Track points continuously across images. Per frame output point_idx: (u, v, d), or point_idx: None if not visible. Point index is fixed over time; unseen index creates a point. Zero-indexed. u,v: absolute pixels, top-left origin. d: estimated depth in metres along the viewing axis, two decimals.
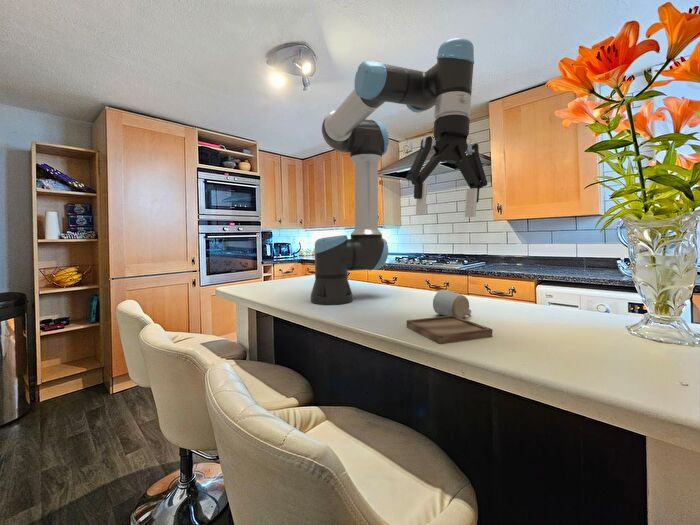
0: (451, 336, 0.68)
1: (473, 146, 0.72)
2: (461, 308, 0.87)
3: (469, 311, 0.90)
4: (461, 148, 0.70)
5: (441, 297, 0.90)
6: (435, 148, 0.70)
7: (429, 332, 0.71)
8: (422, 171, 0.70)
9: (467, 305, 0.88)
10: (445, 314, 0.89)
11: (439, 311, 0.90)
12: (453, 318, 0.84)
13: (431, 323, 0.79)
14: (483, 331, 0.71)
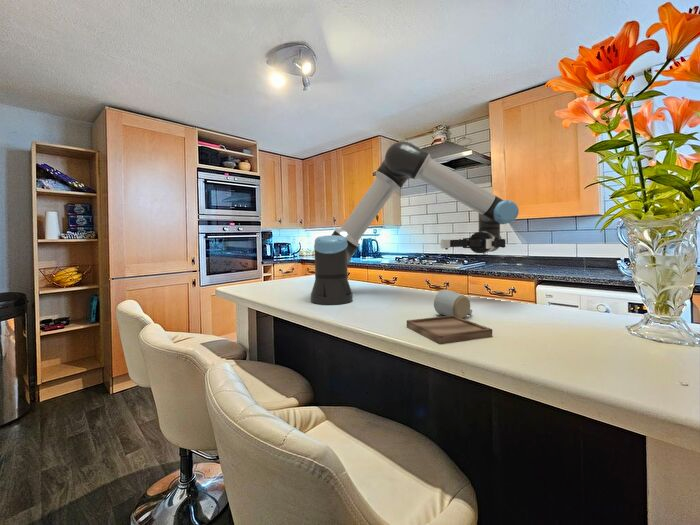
0: (451, 336, 0.68)
1: None
2: (462, 308, 0.87)
3: (470, 311, 0.90)
4: (472, 248, 1.10)
5: (442, 297, 0.90)
6: None
7: (429, 332, 0.71)
8: None
9: (468, 305, 0.88)
10: (446, 314, 0.89)
11: (440, 311, 0.90)
12: (453, 318, 0.84)
13: (431, 323, 0.79)
14: (483, 331, 0.71)
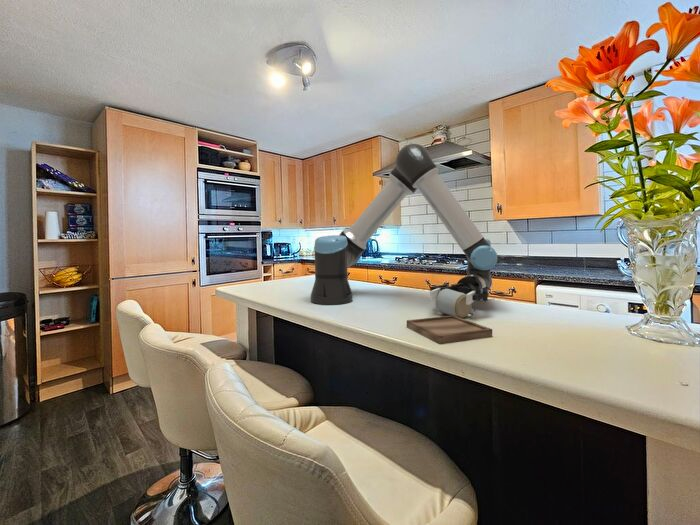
0: (451, 336, 0.68)
1: None
2: (464, 307, 0.88)
3: (472, 310, 0.91)
4: None
5: (444, 296, 0.91)
6: (477, 289, 0.98)
7: (429, 332, 0.71)
8: None
9: (470, 304, 0.89)
10: (448, 313, 0.90)
11: (442, 310, 0.91)
12: (453, 318, 0.84)
13: (431, 323, 0.79)
14: (483, 331, 0.71)
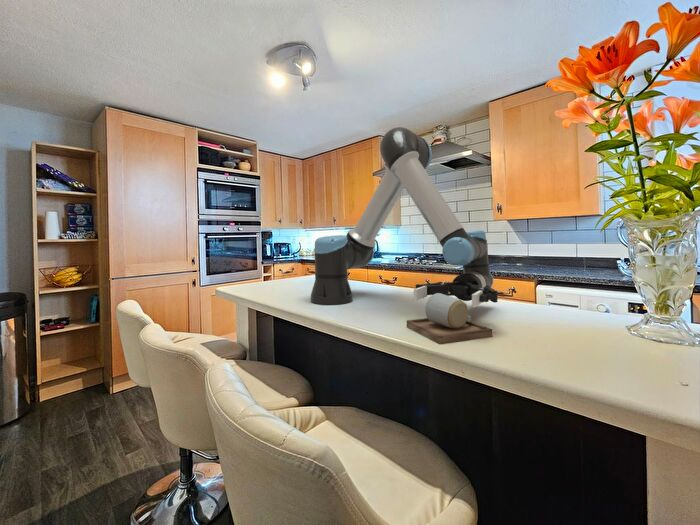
0: (451, 336, 0.68)
1: None
2: (458, 316, 0.73)
3: (469, 318, 0.76)
4: None
5: (434, 303, 0.75)
6: None
7: (429, 332, 0.71)
8: None
9: (466, 311, 0.74)
10: (440, 323, 0.75)
11: (433, 319, 0.76)
12: None
13: (431, 323, 0.79)
14: (483, 331, 0.71)
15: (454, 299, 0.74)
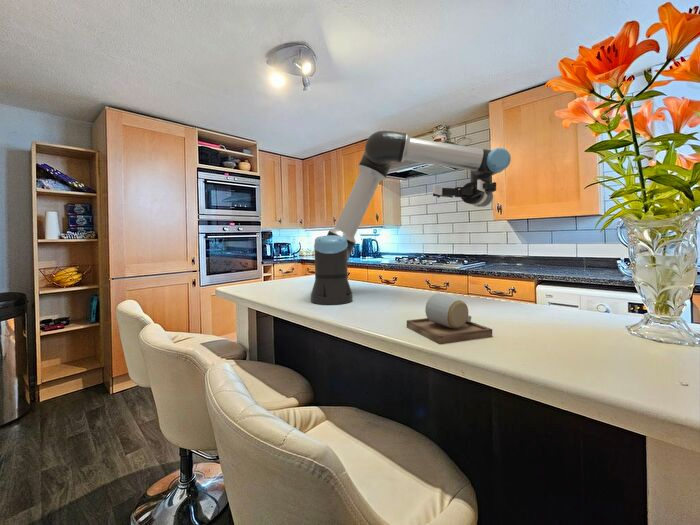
0: (451, 336, 0.68)
1: (453, 196, 1.14)
2: (458, 316, 0.73)
3: (469, 318, 0.76)
4: (464, 198, 1.11)
5: (434, 303, 0.75)
6: None
7: (429, 332, 0.71)
8: None
9: (466, 311, 0.74)
10: (440, 323, 0.75)
11: (433, 319, 0.76)
12: None
13: (431, 323, 0.79)
14: (483, 331, 0.71)
15: (454, 299, 0.74)
